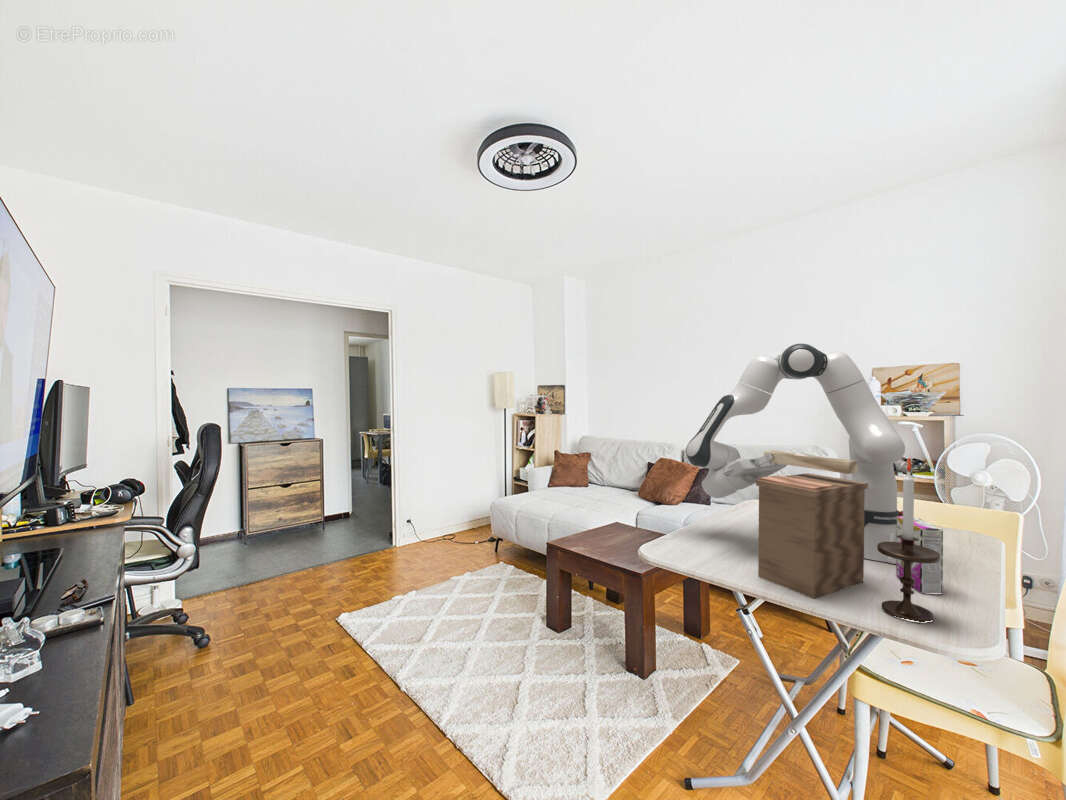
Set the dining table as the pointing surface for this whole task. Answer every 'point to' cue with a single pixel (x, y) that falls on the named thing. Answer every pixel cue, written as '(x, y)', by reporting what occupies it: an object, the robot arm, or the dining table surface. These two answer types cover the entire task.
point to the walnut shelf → (811, 532)
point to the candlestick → (908, 558)
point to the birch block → (814, 462)
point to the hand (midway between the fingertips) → (778, 455)
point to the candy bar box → (924, 573)
